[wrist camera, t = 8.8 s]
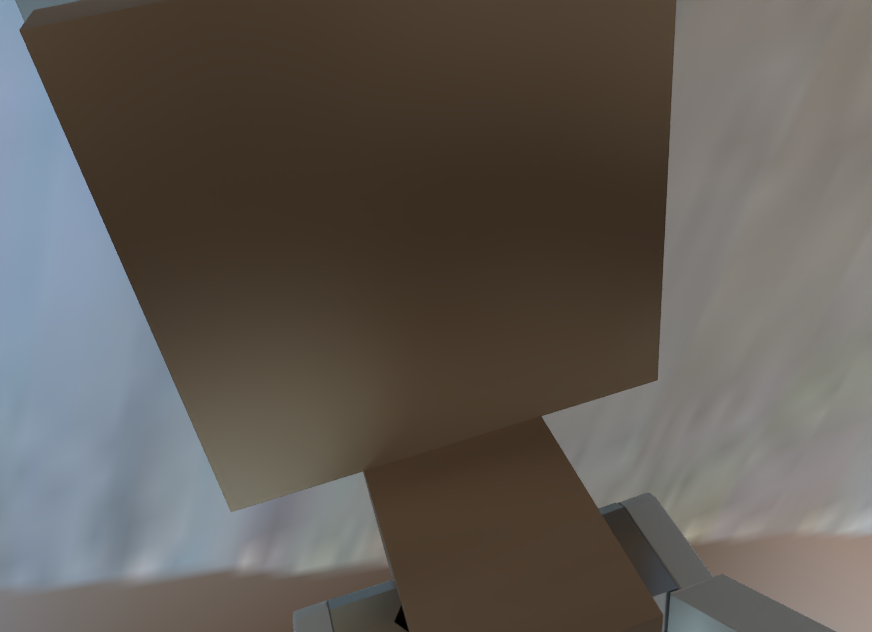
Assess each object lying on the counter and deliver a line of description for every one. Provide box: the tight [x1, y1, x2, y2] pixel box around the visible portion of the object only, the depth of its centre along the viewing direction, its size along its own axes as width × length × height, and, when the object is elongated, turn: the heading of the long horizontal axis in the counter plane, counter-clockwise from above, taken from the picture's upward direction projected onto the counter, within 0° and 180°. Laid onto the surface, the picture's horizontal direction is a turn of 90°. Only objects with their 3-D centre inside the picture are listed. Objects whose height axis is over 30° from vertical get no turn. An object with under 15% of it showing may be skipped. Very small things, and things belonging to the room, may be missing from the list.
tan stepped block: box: [20, 0, 676, 632], centre depth 10 cm, size 14×6×4 cm, turn 8°
